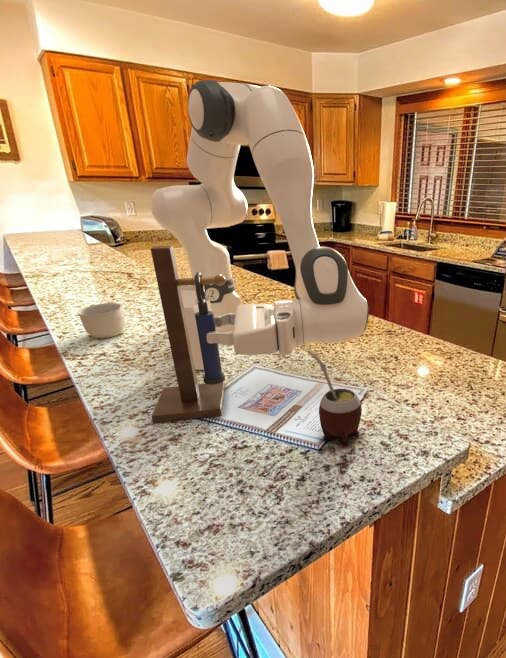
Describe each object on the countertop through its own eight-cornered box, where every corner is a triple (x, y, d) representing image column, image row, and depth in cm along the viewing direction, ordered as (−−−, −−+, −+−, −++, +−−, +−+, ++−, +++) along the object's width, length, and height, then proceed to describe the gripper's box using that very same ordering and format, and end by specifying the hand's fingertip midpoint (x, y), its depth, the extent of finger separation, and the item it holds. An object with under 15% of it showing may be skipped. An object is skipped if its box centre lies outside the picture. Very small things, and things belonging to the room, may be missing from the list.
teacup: (130, 336, 121) (124, 308, 118) (87, 344, 115) (78, 315, 112) (123, 324, 131) (117, 298, 128) (83, 330, 126) (75, 304, 122)
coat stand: (165, 394, 88) (132, 243, 75) (242, 386, 91) (222, 240, 79) (153, 423, 77) (112, 254, 65) (240, 413, 80) (218, 249, 68)
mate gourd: (366, 444, 71) (367, 361, 64) (320, 452, 69) (316, 367, 62) (354, 422, 77) (353, 344, 71) (311, 428, 75) (306, 349, 69)
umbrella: (205, 374, 85) (187, 270, 77) (226, 372, 86) (211, 269, 77) (202, 388, 80) (183, 277, 71) (224, 386, 80) (207, 276, 72)
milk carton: (204, 371, 98) (190, 289, 91) (176, 368, 100) (160, 288, 92) (219, 359, 105) (207, 282, 97) (193, 357, 106) (179, 281, 98)
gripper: (280, 294, 89) (211, 298, 86) (287, 323, 71) (200, 329, 68) (282, 323, 92) (216, 328, 89) (290, 358, 74) (207, 365, 71)
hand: (209, 329), depth 79 cm, fingers open, 8 cm apart
